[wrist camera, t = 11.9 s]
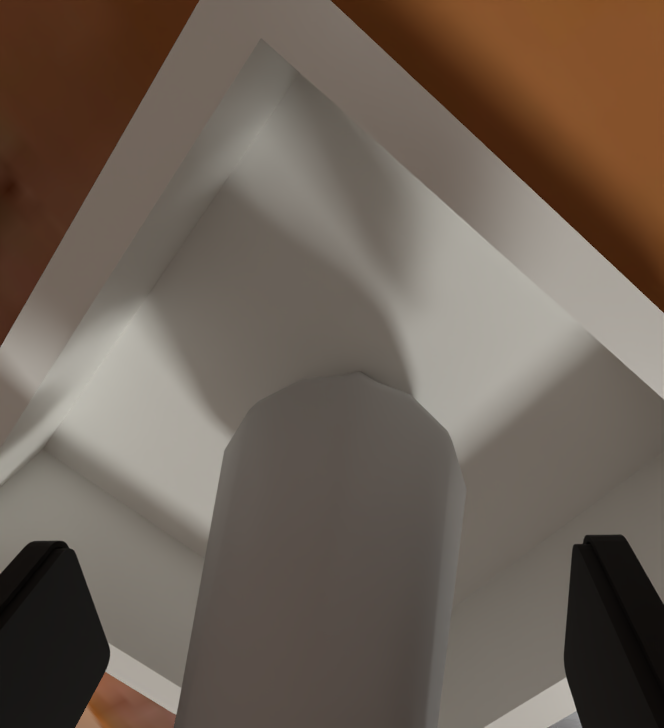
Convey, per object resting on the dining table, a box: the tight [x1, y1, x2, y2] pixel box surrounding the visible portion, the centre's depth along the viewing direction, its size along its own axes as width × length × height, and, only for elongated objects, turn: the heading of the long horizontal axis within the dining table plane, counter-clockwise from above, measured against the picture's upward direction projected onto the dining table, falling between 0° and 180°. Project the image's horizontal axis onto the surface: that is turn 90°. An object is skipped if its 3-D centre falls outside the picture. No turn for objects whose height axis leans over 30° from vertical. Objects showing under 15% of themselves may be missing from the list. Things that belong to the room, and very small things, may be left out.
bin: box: [0, 0, 664, 728], centre depth 14 cm, size 15×15×5 cm
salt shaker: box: [174, 371, 467, 728], centre depth 9 cm, size 6×6×13 cm
